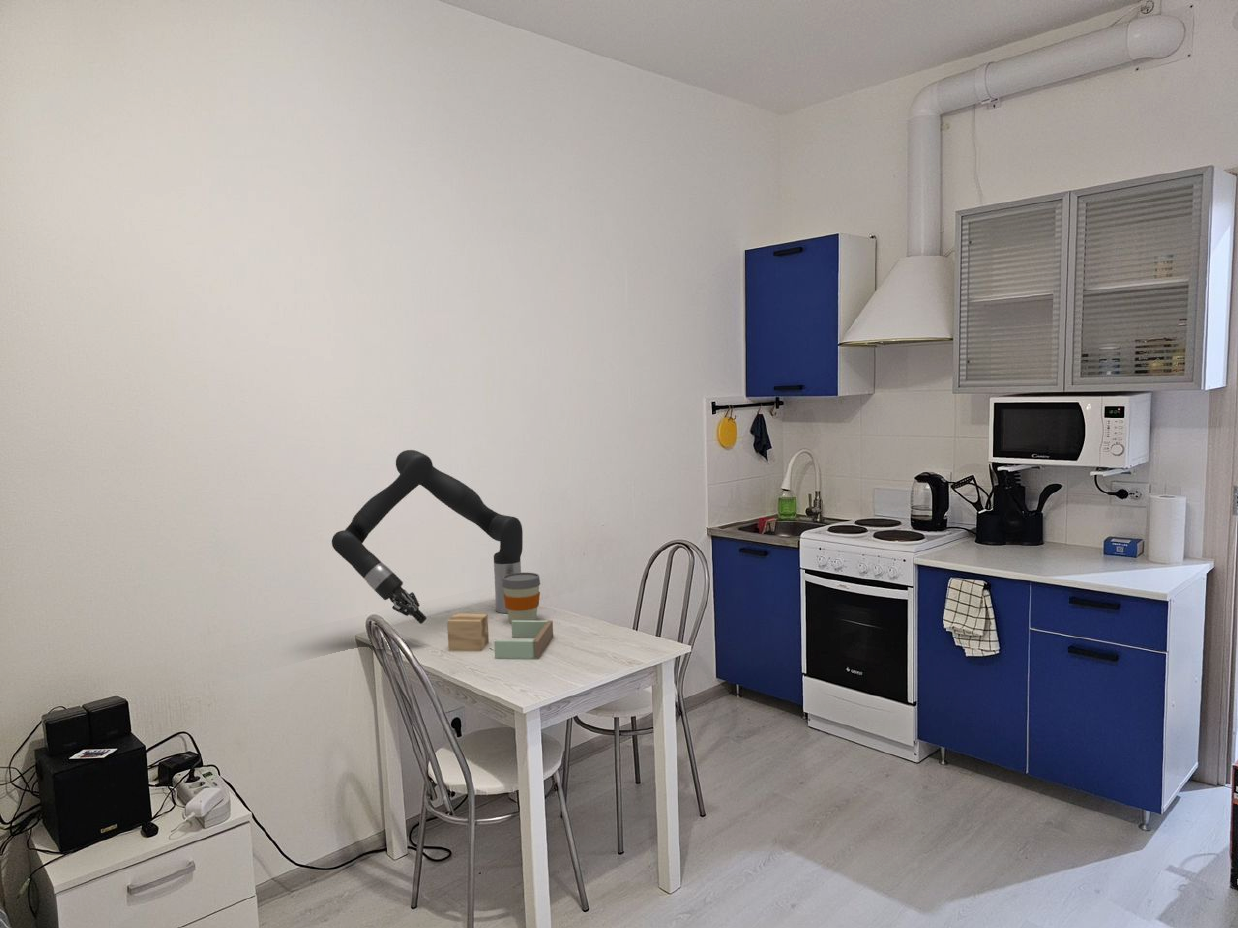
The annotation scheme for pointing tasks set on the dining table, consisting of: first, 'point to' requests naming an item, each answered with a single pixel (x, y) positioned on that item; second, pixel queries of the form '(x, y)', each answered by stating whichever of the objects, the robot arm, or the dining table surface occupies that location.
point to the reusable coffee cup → (521, 595)
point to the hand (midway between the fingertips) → (424, 621)
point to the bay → (525, 647)
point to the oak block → (468, 632)
